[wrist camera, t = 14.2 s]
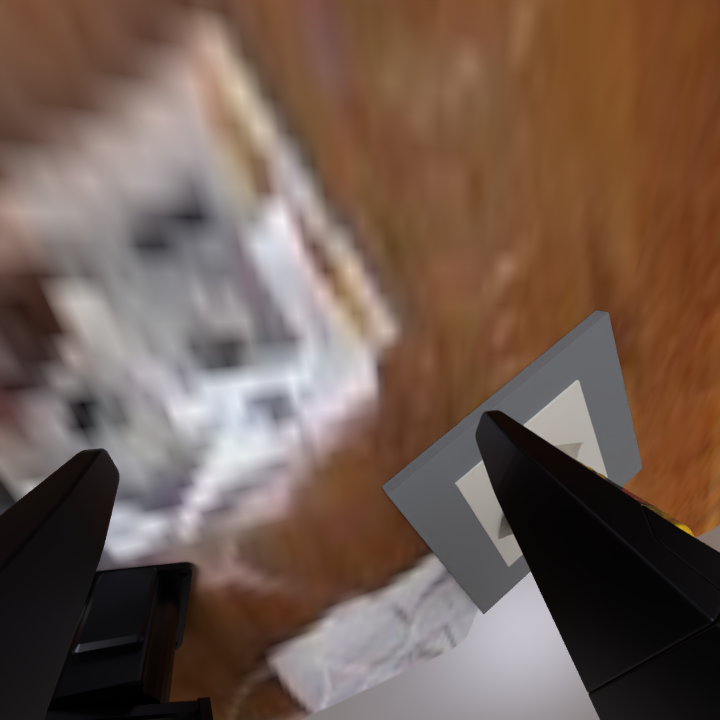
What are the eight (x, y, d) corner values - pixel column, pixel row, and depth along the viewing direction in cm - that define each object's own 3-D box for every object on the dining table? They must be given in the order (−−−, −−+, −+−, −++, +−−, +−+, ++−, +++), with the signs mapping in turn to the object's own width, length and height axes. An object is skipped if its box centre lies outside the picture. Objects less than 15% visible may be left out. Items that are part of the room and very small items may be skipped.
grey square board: (476, 604, 34) (485, 616, 33) (381, 486, 25) (388, 497, 24) (632, 462, 37) (644, 469, 36) (595, 310, 28) (610, 312, 27)
